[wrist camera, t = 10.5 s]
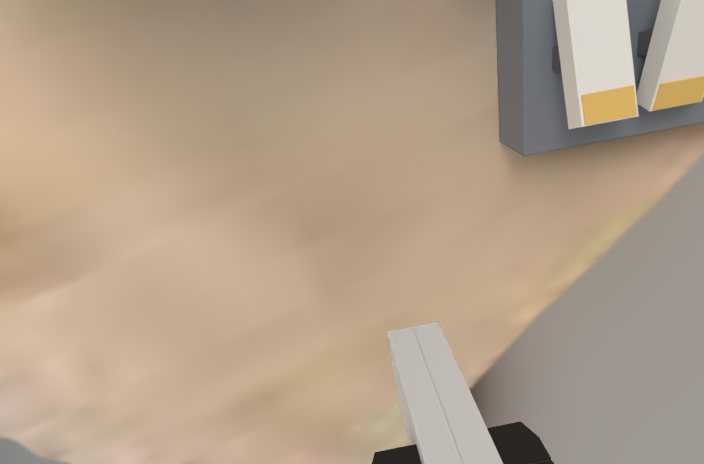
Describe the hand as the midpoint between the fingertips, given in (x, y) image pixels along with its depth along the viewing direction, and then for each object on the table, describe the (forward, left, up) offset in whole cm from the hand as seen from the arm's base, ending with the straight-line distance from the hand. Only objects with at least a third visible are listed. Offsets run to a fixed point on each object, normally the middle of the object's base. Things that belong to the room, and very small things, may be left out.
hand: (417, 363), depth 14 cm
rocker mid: (-4, +25, -22) cm, 33 cm away
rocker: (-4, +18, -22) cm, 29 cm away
